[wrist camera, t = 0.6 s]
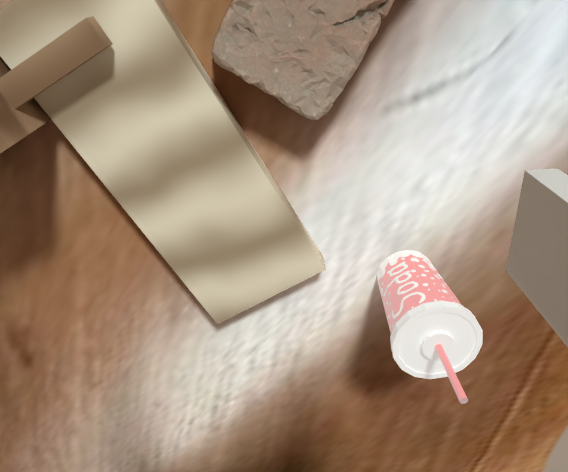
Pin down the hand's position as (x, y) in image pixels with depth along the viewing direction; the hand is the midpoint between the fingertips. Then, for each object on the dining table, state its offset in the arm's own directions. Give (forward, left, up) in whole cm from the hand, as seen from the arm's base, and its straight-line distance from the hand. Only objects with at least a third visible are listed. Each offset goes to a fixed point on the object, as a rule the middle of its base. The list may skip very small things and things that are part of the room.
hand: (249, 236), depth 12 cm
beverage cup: (+20, +2, -25) cm, 32 cm away
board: (+2, -8, -24) cm, 26 cm away
